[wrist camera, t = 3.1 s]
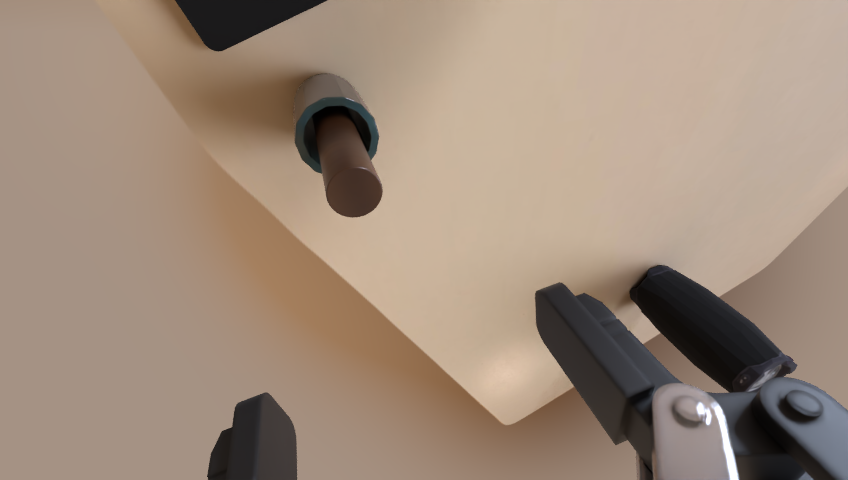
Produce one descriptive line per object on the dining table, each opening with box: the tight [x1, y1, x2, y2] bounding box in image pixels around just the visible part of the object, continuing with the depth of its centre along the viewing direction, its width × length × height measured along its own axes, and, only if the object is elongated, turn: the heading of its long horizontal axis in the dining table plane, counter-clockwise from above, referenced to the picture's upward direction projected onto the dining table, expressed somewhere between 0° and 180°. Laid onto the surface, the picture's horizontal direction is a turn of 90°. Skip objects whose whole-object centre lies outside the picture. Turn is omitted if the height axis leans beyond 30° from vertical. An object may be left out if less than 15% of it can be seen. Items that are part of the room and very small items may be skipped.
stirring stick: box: [312, 106, 382, 217], centre depth 27 cm, size 3×3×16 cm
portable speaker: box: [630, 265, 797, 393], centre depth 55 cm, size 9×9×20 cm
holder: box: [293, 73, 379, 174], centre depth 30 cm, size 6×6×8 cm
